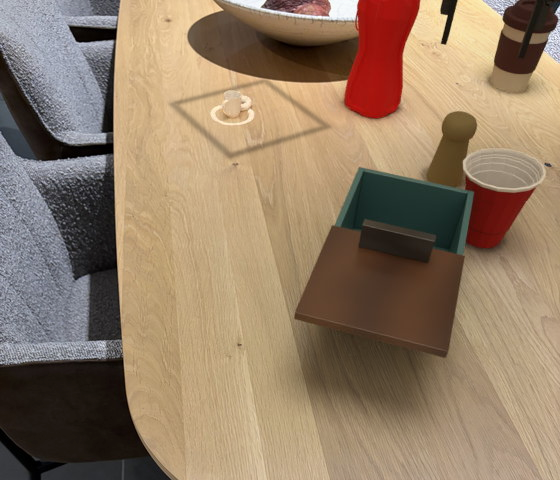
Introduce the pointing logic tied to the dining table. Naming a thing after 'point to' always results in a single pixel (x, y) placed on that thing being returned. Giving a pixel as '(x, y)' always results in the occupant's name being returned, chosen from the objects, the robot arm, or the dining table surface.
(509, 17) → the coffee cup
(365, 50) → the water bottle
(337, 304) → the sliding lid
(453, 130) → the brown pawn
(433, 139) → the dining table surface
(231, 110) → the teacup and saucer
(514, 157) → the plastic cup
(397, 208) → the storage box
